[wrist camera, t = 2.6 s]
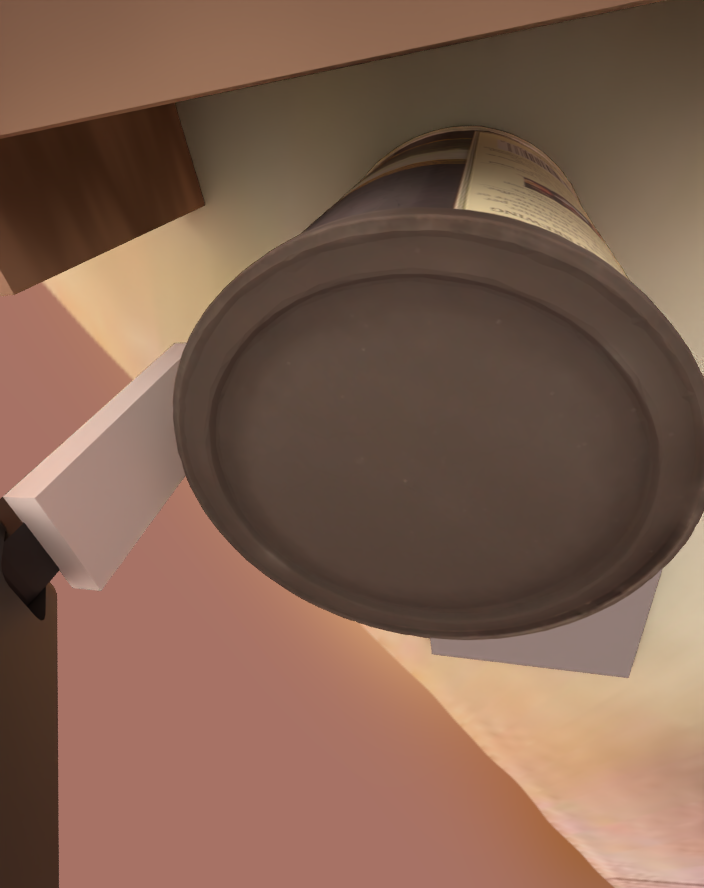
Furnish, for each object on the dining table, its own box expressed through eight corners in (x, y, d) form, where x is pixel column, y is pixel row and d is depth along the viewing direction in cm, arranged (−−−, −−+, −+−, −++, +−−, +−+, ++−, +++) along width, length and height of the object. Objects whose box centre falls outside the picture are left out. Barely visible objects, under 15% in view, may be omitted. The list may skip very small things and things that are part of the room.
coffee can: (327, 355, 25) (194, 585, 14) (347, 106, 18) (125, 162, 7) (537, 397, 23) (577, 686, 12) (636, 147, 17) (901, 288, 6)
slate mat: (625, 663, 34) (628, 677, 33) (433, 642, 37) (431, 654, 36) (665, 528, 26) (670, 542, 25) (420, 517, 30) (418, 529, 29)
